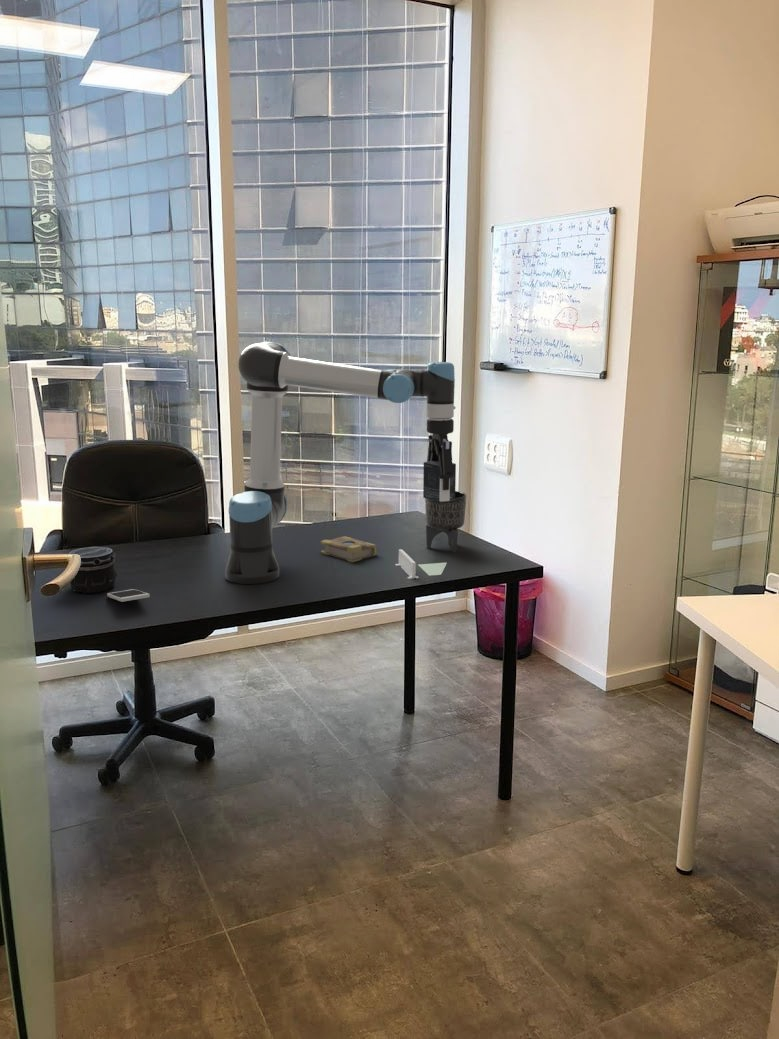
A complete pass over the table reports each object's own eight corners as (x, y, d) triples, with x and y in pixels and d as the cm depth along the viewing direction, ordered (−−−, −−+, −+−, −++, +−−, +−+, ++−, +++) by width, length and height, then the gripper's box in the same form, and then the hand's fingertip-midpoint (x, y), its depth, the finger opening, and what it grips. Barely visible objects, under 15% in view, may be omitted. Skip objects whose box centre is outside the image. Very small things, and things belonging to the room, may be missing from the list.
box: (455, 500, 245) (456, 463, 242) (441, 502, 241) (441, 465, 239) (437, 495, 251) (437, 459, 248) (422, 498, 247) (422, 461, 245)
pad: (429, 576, 245) (429, 575, 245) (417, 565, 255) (417, 564, 255) (459, 574, 247) (459, 573, 247) (446, 563, 258) (446, 562, 258)
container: (83, 578, 242) (80, 544, 239) (126, 581, 240) (123, 546, 237) (58, 592, 230) (55, 557, 227) (103, 595, 228) (101, 559, 225)
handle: (408, 580, 242) (408, 563, 241) (395, 565, 255) (395, 549, 254) (418, 579, 243) (419, 562, 242) (405, 565, 256) (405, 549, 255)
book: (320, 554, 268) (320, 538, 267) (346, 547, 276) (346, 532, 275) (352, 564, 258) (352, 548, 257) (378, 556, 266) (378, 541, 265)
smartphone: (121, 602, 214) (121, 598, 214) (106, 596, 227) (106, 592, 227) (150, 597, 217) (149, 593, 217) (134, 592, 231) (133, 588, 231)
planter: (425, 554, 267) (426, 498, 263) (422, 543, 279) (423, 490, 275) (467, 554, 267) (468, 498, 263) (462, 543, 280) (463, 490, 276)
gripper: (466, 423, 231) (464, 504, 237) (440, 413, 252) (439, 488, 257) (439, 424, 229) (438, 506, 235) (416, 414, 250) (415, 490, 255)
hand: (439, 497), depth 246 cm, fingers closed on box, 9 cm apart
